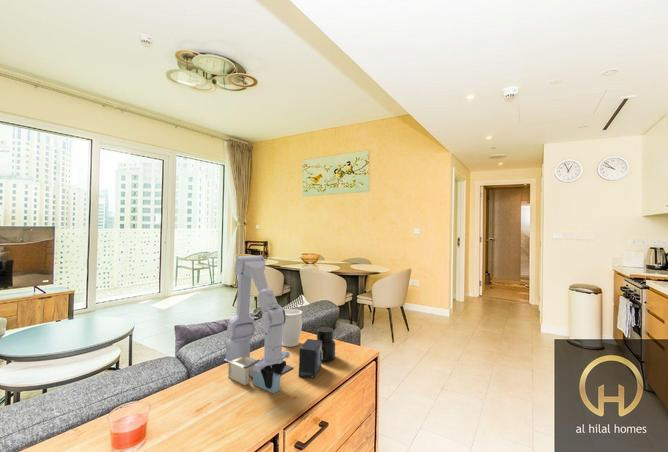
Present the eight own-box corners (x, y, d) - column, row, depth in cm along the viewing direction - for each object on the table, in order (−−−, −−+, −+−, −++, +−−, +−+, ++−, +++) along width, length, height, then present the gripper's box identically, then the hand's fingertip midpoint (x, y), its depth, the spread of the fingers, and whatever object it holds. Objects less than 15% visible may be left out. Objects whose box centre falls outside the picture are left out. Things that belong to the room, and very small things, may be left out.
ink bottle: (312, 354, 136) (312, 326, 136) (332, 352, 138) (332, 325, 138) (316, 364, 127) (316, 333, 127) (337, 362, 129) (338, 332, 129)
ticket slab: (252, 384, 109) (253, 369, 109) (259, 380, 112) (259, 366, 112) (273, 393, 104) (273, 378, 104) (280, 389, 106) (280, 374, 106)
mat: (252, 365, 124) (252, 364, 124) (267, 358, 130) (267, 357, 130) (278, 376, 116) (278, 375, 116) (293, 368, 122) (293, 367, 122)
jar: (275, 347, 143) (276, 313, 143) (282, 339, 153) (283, 307, 153) (298, 349, 141) (298, 315, 141) (304, 340, 152) (304, 309, 151)
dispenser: (228, 377, 114) (228, 360, 114) (243, 370, 120) (244, 353, 120) (245, 385, 109) (245, 367, 109) (260, 377, 114) (260, 360, 114)
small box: (315, 379, 114) (315, 350, 114) (297, 377, 115) (298, 348, 115) (322, 366, 124) (322, 339, 124) (306, 364, 126) (306, 338, 126)
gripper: (265, 354, 98) (264, 398, 98) (296, 341, 110) (295, 380, 110) (250, 349, 102) (249, 391, 102) (281, 336, 114) (280, 374, 114)
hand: (272, 385), depth 106 cm, fingers closed on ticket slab, 3 cm apart
